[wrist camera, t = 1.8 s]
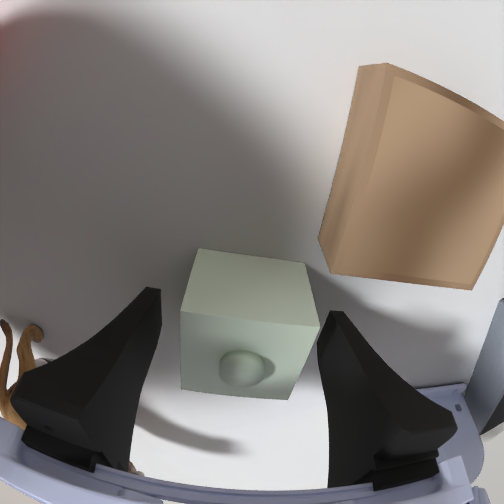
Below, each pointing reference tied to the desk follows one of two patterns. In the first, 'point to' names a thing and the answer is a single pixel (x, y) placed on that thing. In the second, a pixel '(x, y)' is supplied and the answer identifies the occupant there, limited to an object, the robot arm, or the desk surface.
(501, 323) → the external hard drive
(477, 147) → the base brick
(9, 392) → the lion figurine
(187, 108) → the desk surface
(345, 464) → the robot arm
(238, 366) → the sage brick
